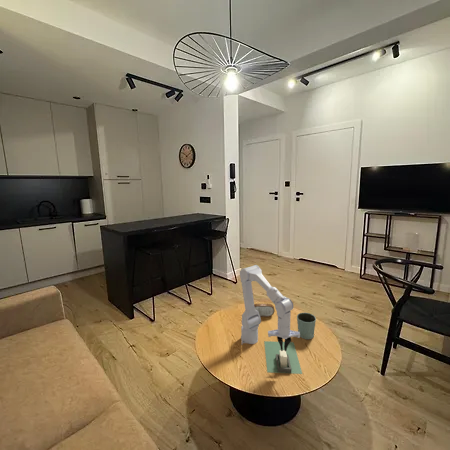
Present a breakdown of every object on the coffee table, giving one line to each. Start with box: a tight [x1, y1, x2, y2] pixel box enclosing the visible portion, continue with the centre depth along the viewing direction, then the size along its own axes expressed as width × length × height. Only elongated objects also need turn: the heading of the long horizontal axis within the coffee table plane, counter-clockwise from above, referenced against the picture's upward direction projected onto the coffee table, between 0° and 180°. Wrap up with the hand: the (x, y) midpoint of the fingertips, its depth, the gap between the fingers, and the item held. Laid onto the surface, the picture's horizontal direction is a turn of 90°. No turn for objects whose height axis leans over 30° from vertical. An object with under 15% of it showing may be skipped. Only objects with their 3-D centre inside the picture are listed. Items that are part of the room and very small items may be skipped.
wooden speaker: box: [254, 303, 276, 317], centre depth 162 cm, size 15×3×8 cm, turn 87°
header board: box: [263, 340, 303, 375], centre depth 124 cm, size 16×22×3 cm
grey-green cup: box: [296, 312, 317, 340], centre depth 140 cm, size 10×10×12 cm
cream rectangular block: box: [279, 350, 287, 368], centre depth 119 cm, size 3×5×6 cm, turn 175°
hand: (283, 349), depth 117 cm, fingers closed
